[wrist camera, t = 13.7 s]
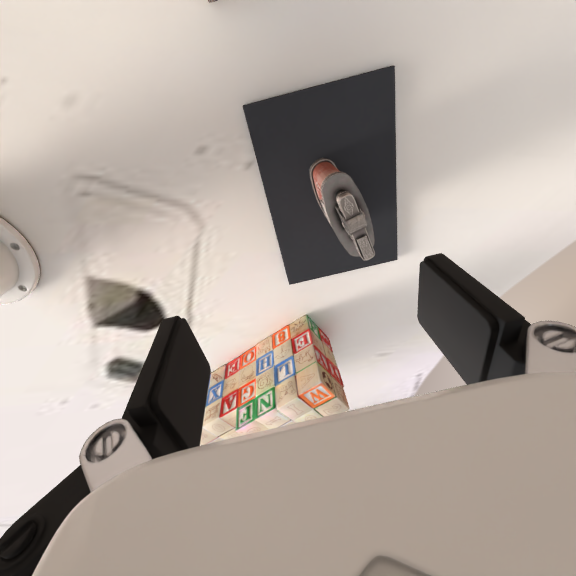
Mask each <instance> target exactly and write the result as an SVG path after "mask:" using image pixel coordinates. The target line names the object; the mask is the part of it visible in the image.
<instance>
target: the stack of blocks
mask: <svg viewBox="0 0 576 576" xmlns="http://www.w3.org/2000/svg"><path fill="white" fill-rule="evenodd" d="M343 388H344V385H343V382H342V379H341V376H340V372H339V370H338V367H337V364H336V361H335V358H334V355H333V351H332V347H331V344H330V341H329V338H328V337H327V336H326V335H325V334H324V333H323V332H322V331H321V330H320V329H319V328H318V327H317V326H316V325H315V323H314V322H313V321H312V320H311V319H310V318H309V317H308V316H307V315H304V316H303V317H301V318H300V319H298V320H296V321H295V322H293V323H291V324H290V325H287V326H286V327H284V328H283V329H281V330H279V331H278V332H276V333H275V334H273V335H272V336H270V337H268V338H266V339H265V340H263V341H261V342H260V343H258V344H257V345H256V346H255V347H253V348H252V349H250V350H248V351H247V352H245V353H244V354H242V355H241V356H239V357H238V358H236V359H234V360H233V361H231V362H230V363H228V364H227V365H224V366H222V367H221V368H219V369H217V370H216V371H214V372H213V373H211V374H210V380H209V387H208V393H207V400H206V407H205V414H204V420H203V427H202V434H201V441H200V445H205V444H209V443H213V442H217V441H221V440H225V439H230V438H234V437H238V436H242V435H247V434H251V433H255V432H260V431H264V430H268V429H272V428H277V427H281V426H285V425H290V424H294V423H298V422H303V421H307V420H311V419H316V418H320V417H324V416H329V415H333V414H338V413H342V412H346V411H348V410H349V405H348V402H347V399H346V396H345V392H344V390H343Z"/></svg>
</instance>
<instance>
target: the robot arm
mask: <svg viewBox="0 0 576 576" xmlns="http://www.w3.org/2000/svg"><path fill="white" fill-rule="evenodd" d="M39 277H40V267H39V263H38V259H37V257H36V255H35V253H34V251H33V249H32V247H31V246H30V245H29V243H28V242H27V241H26V239H25V238H24V237H23V236H22V235H21V234H20V233H19V232H18V231H17V230H16V229H15V228H14V227H12V226H11V225H10V224H9V223H7V222H6V221H5V220H3V219H2V218H0V305H4V304H11V303H14V302H17V301H20V300H21V299H23V298H24V297H26V296H27V295H28V294H30V293H31V292H32V291H33V290H34V289H35V287H36V286H37V284H38V281H39ZM417 316H418V320H419V323H420V324H421V326H422V327H423V328H424V330H425V331H426V332H427V333H428V335H429V336H430V337H431V339H432V340H433V341H434V343H435V344H436V345H437V346H438V348H439V349H440V350H441V352H442V353H443V354H444V356H445V357H446V358H447V359H448V361H449V362H450V363H451V364H452V366H453V367H454V368H455V370H456V371H457V372H458V374H459V375H460V376H461V377H462V379H463V380H464V381H465V382H466V384H467V385H464V386H459V387H455V388H450V389H445V390H441V391H436V392H431V393H428V394H423V395H418V396H413V397H409V398H404V399H400V400H395V401H391V402H386V403H382V404H377V405H373V406H369V407H364V408H360V409H355V410H351V411H346V412H342V413H338V414H333V415H329V416H324V417H320V418H316V419H311V420H307V421H303V422H298V423H294V424H290V425H285V426H281V427H277V428H272V429H268V430H264V431H260V432H255V433H251V434H247V435H242V436H238V437H234V438H230V439H225V440H221V441H217V442H213V443H209V444H205V445H201V446H200V441H201V434H202V427H203V420H204V414H205V407H206V400H207V393H208V387H209V380H210V373H211V370H210V365H209V363H208V361H207V359H206V357H205V355H204V353H203V351H202V349H201V348H200V346H199V344H198V342H197V340H196V338H195V336H194V334H193V332H192V330H191V329H190V327H189V325H188V323H187V321H186V319H184V318H182V319H181V318H180V317H179V316H175V317H170V318H166V319H163V320H162V322H161V324H160V327H159V329H158V332H157V334H156V337H155V339H154V341H153V344H152V346H151V349H150V351H149V354H148V356H147V359H146V361H145V363H144V365H143V368H142V370H141V373H140V375H139V377H138V380H137V382H136V385H135V387H134V390H133V392H132V394H131V397H130V399H129V402H128V404H127V407H126V409H125V412H124V414H123V416H122V419H115V420H112V421H110V422H107V423H105V424H104V425H102V426H101V427H99V428H98V429H97V430H96V431H95V432H93V433H92V434H91V435H90V437H89V438H88V439H87V440H86V442H85V443H84V445H83V447H82V449H81V452H80V455H79V459H80V464H81V465H80V466H79V467H78V468H77V469H75V470H74V471H73V472H72V473H71V474H70V475H68V476H67V477H66V478H65V479H64V480H63V481H62V482H60V483H59V484H58V485H57V486H56V487H55V488H54V489H52V490H51V491H50V492H49V493H48V494H47V495H46V496H44V497H43V498H42V499H41V500H40V501H39V502H37V503H36V504H35V505H34V506H33V507H32V508H31V509H29V510H28V511H27V512H26V513H25V514H24V515H23V516H21V517H20V518H19V519H18V520H17V521H16V522H15V523H14V524H13V525H12V526H11V527H10V528H9V529H8V530H7V531H6V532H5V533H4V535H3V536H2V537H1V538H0V576H576V327H575V326H572V325H570V324H566V323H562V322H557V321H540V322H536V323H533V324H532V325H531V324H530V323H529V322H527V321H526V320H525V318H524V317H523V316H522V315H521V314H520V313H518V312H517V311H516V310H514V309H513V308H512V307H511V306H509V305H508V304H507V303H505V302H504V301H503V300H502V299H500V298H499V297H498V296H496V295H495V294H494V293H493V292H491V291H490V290H489V289H487V288H486V287H485V286H484V285H482V284H481V283H480V282H478V281H477V280H476V279H475V278H473V277H472V276H471V275H469V274H468V273H467V272H466V271H464V270H463V269H462V268H460V267H459V266H458V265H457V264H455V263H454V262H453V261H451V260H450V259H449V258H448V257H446V256H445V255H444V254H442V253H440V254H436V255H431V256H427V257H425V258H424V261H422V262H421V263H420V272H419V293H418V314H417Z"/></svg>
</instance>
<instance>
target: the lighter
mask: <svg viewBox="0 0 576 576" xmlns="http://www.w3.org/2000/svg"><path fill="white" fill-rule="evenodd" d="M309 173H310V179H311V183H312V187H313V190H314V193H315V196H316V199H317V201H318V204H319V205H320V207H321V209H322V211H323V213H324V215H325V216H326V218H327V219H328V221H329V223H330V225H331V227H332V228H333V230H334V232H335V234H336V236H337V237H338V239H339V241H340V242H341V244H342V245H343V246H344V248H345V249H346V250H347V252H348V253H349V254H350V255H351V256H355V257H358V256H361V258H362V259H363V260H369V259H371V258H373V257H374V255H375V252H374V249H373V246H374V241H375V240H374V233H373V225H372V222H371V218H370V214H369V211H368V208H367V206H366V203H365V201H364V199H363V197H362V195H361V193H360V191H359V189H358V188H357V186H356V185H355V183H354V182H353V180H352V178H351V177H350V176H349V175H347V174H346V173H344V172H340V171H339V170H338V169H337V167H336V166H335V164H334V163H333V162H332V161H331V160H330V159H327V158H321V159H318V160H316V161H315V162H314V163H313V164H312V165H311V167H310V170H309Z"/></svg>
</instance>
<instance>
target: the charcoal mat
mask: <svg viewBox="0 0 576 576" xmlns="http://www.w3.org/2000/svg"><path fill="white" fill-rule="evenodd" d="M243 109H244V112H245V116H246V120H247V124H248V128H249V132H250V135H251V139H252V143H253V147H254V151H255V155H256V158H257V162H258V166H259V170H260V174H261V178H262V181H263V185H264V189H265V193H266V197H267V201H268V205H269V208H270V212H271V216H272V220H273V224H274V228H275V231H276V235H277V239H278V243H279V247H280V251H281V254H282V258H283V262H284V266H285V270H286V274H287V277H288V281H289V285H290V284H295V283H299V282H303V281H308V280H312V279H316V278H321V277H325V276H329V275H333V274H338V273H342V272H346V271H351V270H355V269H359V268H364V267H368V266H372V265H377V264H381V263H385V262H390V261H394V260H397V205H396V133H395V66H390V67H386V68H382V69H378V70H375V71H371V72H367V73H363V74H360V75H356V76H352V77H348V78H345V79H341V80H337V81H333V82H330V83H326V84H322V85H318V86H315V87H311V88H307V89H303V90H300V91H296V92H292V93H288V94H285V95H281V96H277V97H273V98H270V99H266V100H262V101H258V102H254V103H251V104H247V105H243ZM321 158H327V159H330V160H331V161H332V162H333V163H334V164H335V166H336V167H337V169H338V170H339V171H340V172H344V173H346V174H347V175H349V176H350V177H351V178H352V180H353V182H354V183H355V185H356V186H357V188H358V189H359V191H360V193H361V195H362V197H363V199H364V201H365V203H366V206H367V208H368V211H369V214H370V218H371V222H372V225H373V233H374V240H375V241H374V246H373V249H374V252H375V255H374V257H373V258H371V259H369V260H363V259H362V258H361V256H358V257H355V256H351V255H350V254H349V253H348V252H347V250H346V249H345V248H344V246H343V245H342V244H341V242H340V241H339V239H338V237H337V236H336V234H335V232H334V230H333V228H332V227H331V225H330V223H329V221H328V219H327V218H326V216H325V215H324V213H323V211H322V209H321V207H320V205H319V204H318V201H317V199H316V196H315V193H314V190H313V187H312V183H311V179H310V173H309V170H310V167H311V165H312V164H313V163H314V162H315V161H316V160H318V159H321Z"/></svg>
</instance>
